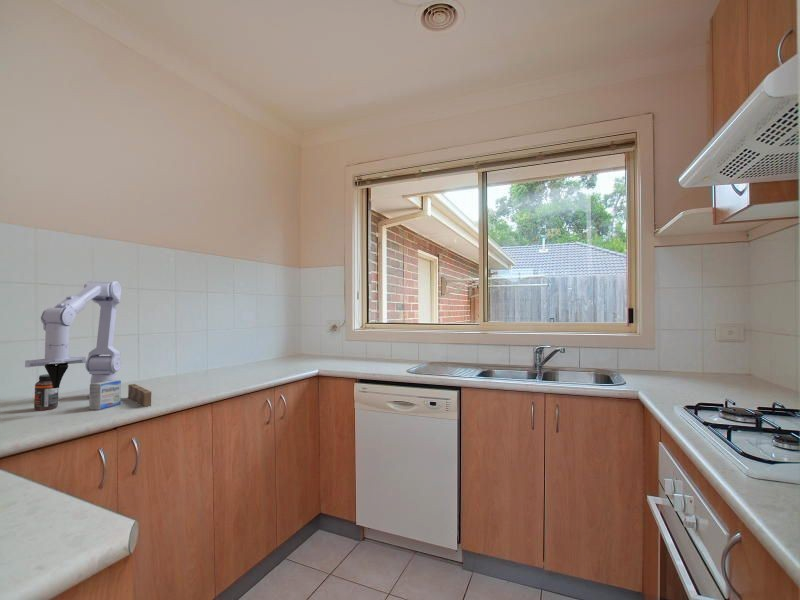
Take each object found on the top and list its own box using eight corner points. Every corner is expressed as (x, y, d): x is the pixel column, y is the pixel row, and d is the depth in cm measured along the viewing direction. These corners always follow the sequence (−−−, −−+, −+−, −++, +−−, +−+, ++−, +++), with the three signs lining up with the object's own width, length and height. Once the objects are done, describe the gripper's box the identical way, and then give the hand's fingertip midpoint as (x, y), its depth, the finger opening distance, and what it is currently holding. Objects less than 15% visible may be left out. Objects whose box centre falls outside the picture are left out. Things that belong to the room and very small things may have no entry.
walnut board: (128, 397, 148) (128, 384, 148) (134, 397, 149) (134, 383, 150) (144, 407, 135) (144, 392, 135) (151, 406, 136) (151, 391, 136)
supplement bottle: (29, 409, 130) (30, 375, 130) (51, 405, 135) (52, 372, 136) (40, 411, 128) (41, 377, 128) (61, 407, 133) (62, 374, 133)
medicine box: (99, 410, 130) (100, 384, 130) (88, 409, 131) (89, 383, 131) (121, 404, 138) (121, 380, 138) (110, 403, 139) (111, 379, 139)
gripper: (27, 347, 117) (25, 393, 117) (88, 344, 128) (87, 386, 128) (24, 345, 122) (23, 389, 122) (83, 343, 133) (82, 383, 133)
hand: (55, 387), depth 125 cm, fingers closed
